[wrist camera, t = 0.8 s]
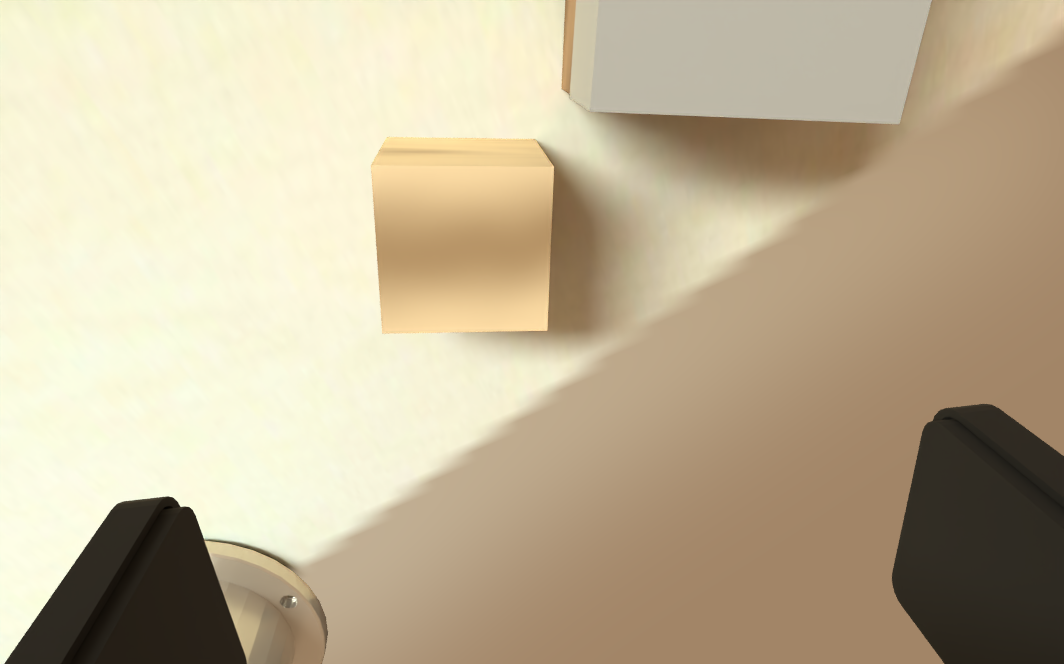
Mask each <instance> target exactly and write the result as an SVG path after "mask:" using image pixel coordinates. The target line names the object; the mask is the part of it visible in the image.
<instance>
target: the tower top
mask: <svg viewBox="0 0 1064 664" xmlns="http://www.w3.org/2000/svg"><path fill="white" fill-rule="evenodd" d="M931 2H932V0H576V10H575V25H574V39H573V54H572V68H571V82H570V97H569V98H570V99H571V100H573V101H574V102H576V103H578V104H579V105H581V106H582V107H584V108H585V109H587V110H588V111H590V112H611V113H636V114H660V115H684V116H708V117H733V118H757V119H781V120H805V121H829V122H854V123H878V124H900V120H901V117H902V113H903V109H904V105H905V101H906V97H907V94H908V90H909V86H910V82H911V78H912V74H913V71H914V67H915V63H916V59H917V55H918V51H919V48H920V44H921V40H922V36H923V32H924V28H925V25H926V21H927V17H928V13H929V9H930V5H931Z"/></svg>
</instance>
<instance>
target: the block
mask: <svg viewBox="0 0 1064 664" xmlns="http://www.w3.org/2000/svg"><path fill="white" fill-rule="evenodd" d="M371 173H372V187H373V202H374V217H375V232H376V246H377V261H378V276H379V290H380V305H381V320H382V334H383V333H441V332H499V331H547V327H548V303H549V279H550V254H551V230H552V206H553V182H554V166H553V165H552V163H551V162H550V160H549V159H548V157H547V156H546V154H545V153H544V152H543V150H542V149H541V147H540V146H539V144H538V143H537V141H536V140H535V139H490V138H413V137H387V138H386V140H385V142H384V143H383V145H382V147H381V149H380V150H379V152H378V154H377V156H376V157H375V159H374V161H373V163H372V164H371Z"/></svg>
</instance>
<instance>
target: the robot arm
mask: <svg viewBox="0 0 1064 664" xmlns="http://www.w3.org/2000/svg"><path fill="white" fill-rule="evenodd" d="M892 583H893V588H894V592H895V594H896V597H897V599H898V601H899V602H900V604H901V605H902V607H903V608H904V610H905V611H906V612H907V613H908V615H909V616H910V617H911V619H912V620H913V622H914V623H915V624H916V625H917V627H918V628H919V630H920V631H921V632H922V634H923V635H924V636H925V638H926V639H927V640H928V642H929V643H930V644H931V646H932V647H933V649H934V650H935V651H936V653H937V654H938V655H939V657H940V658H941V659H942V661H943V662H944V663H945V664H1064V456H1063V455H1061V454H1060V453H1058V452H1057V451H1056V450H1054V449H1053V448H1052V447H1050V446H1049V445H1048V444H1046V443H1045V442H1044V441H1042V440H1041V439H1040V438H1038V437H1037V436H1035V435H1034V434H1033V433H1031V432H1030V431H1029V430H1027V429H1026V428H1025V427H1023V426H1022V425H1021V424H1019V423H1018V422H1016V421H1015V420H1014V419H1013V418H1011V417H1010V416H1008V415H1007V414H1006V413H1004V412H1003V411H1002V410H1000V409H999V408H997V407H995V406H993V405H989V404H980V405H971V406H962V407H953V408H945V409H943V410H940V411H939V412H938V413H937V414H936V415H935V416H934V419H933V421H932V422H929V423H927V424H926V425H925V427H924V429H923V432H922V437H921V441H920V446H919V451H918V456H917V460H916V465H915V470H914V474H913V479H912V484H911V488H910V493H909V498H908V502H907V507H906V512H905V516H904V521H903V526H902V530H901V535H900V540H899V545H898V549H897V554H896V559H895V563H894V568H893V573H892ZM327 635H328V631H327V624H326V617H325V614H324V612H323V609H322V607H321V604H320V602H319V600H318V599H317V597H316V596H315V595H314V593H313V592H312V590H311V589H310V587H309V586H308V585H307V584H306V583H305V582H304V581H303V580H302V579H301V578H299V577H298V576H297V575H296V574H295V573H294V572H293V571H291V570H290V569H288V568H287V567H285V566H284V565H282V564H281V563H279V562H277V561H276V560H274V559H272V558H270V557H267V556H265V555H263V554H260V553H258V552H256V551H254V550H250V549H247V548H243V547H239V546H236V545H232V544H227V543H219V542H211V541H204V538H203V535H202V533H201V530H200V527H199V524H198V521H197V519H196V516H195V514H194V512H193V510H192V509H191V508H190V507H180V506H179V504H178V502H177V501H176V500H175V499H174V498H172V497H160V498H151V499H142V500H133V501H124V502H121V503H119V504H117V505H116V506H115V507H114V508H113V509H112V510H111V511H110V513H109V514H108V516H107V517H106V519H105V520H104V521H103V523H102V524H101V526H100V527H99V529H98V530H97V531H96V533H95V534H94V536H93V537H92V539H91V540H90V542H89V543H88V544H87V546H86V547H85V549H84V550H83V552H82V553H81V554H80V556H79V557H78V559H77V560H76V562H75V563H74V564H73V566H72V567H71V569H70V570H69V572H68V573H67V575H66V576H65V577H64V579H63V580H62V582H61V583H60V585H59V586H58V587H57V589H56V590H55V592H54V593H53V595H52V596H51V598H50V599H49V600H48V602H47V603H46V605H45V606H44V608H43V609H42V610H41V612H40V613H39V615H38V616H37V618H36V619H35V620H34V622H33V623H32V625H31V626H30V628H29V629H28V631H27V632H26V633H25V635H24V636H23V638H22V639H21V641H20V642H19V643H18V645H17V646H16V648H15V649H14V651H13V652H12V653H11V655H10V656H9V658H8V659H7V661H6V662H5V664H322V661H323V658H324V654H325V649H326V642H327Z"/></svg>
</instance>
